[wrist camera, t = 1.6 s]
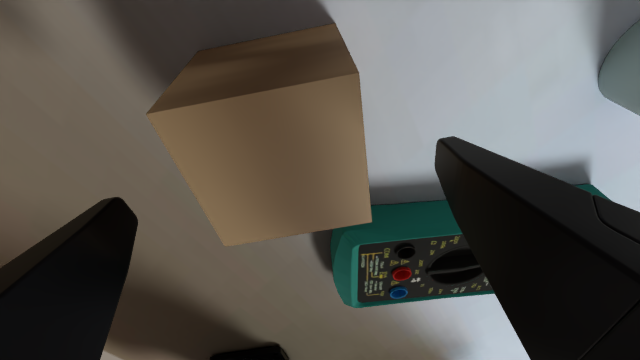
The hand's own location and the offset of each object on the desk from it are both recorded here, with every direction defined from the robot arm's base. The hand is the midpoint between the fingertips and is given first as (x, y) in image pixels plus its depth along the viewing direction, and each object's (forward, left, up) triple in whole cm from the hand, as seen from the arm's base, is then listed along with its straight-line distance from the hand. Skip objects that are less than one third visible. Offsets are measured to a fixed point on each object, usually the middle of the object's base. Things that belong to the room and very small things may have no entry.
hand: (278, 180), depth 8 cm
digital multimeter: (+8, -11, -6) cm, 14 cm away
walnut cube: (0, 0, -5) cm, 5 cm away
